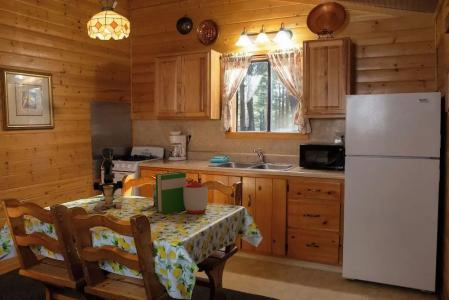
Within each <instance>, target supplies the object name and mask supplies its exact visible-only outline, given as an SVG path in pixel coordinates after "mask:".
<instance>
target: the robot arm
mask: <svg viewBox="0 0 449 300" xmlns="http://www.w3.org/2000/svg"><path fill="white" fill-rule="evenodd" d="M114 152H115V151H114V148H111V147H104V148H102V149H101V156H102V158H103V160H102V162H101V168H102V169H103V183H102V182H100V181H94V182H93V183H92V184H93V190H94V191H100V192H101V194H102V196H103V197H105V195H104V188H103V186H105V185H113V188H112V189H113V201H114V200H115V197H114V196H115V193H116V192H117V190H121V189H123V188H124V184H123V183H124V182H123V180H116V182H115V181H114V179H115V177H116V175H115V173H114V172H113V169H114V168H115V164H114V162H113V157H114V156H113V155H114V154H115V153H114Z"/></svg>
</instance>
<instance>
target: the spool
mask: <svg viewBox="0 0 449 300" xmlns="http://www.w3.org/2000/svg"><path fill="white" fill-rule="evenodd" d="M103 188H104V195H105V196H104V202H105V204H104V206H106V207H105V208H109V207H108V206H114V203H113V202H114V200H113V198H114V196H113V189H112V188H113V185H105V186H103Z"/></svg>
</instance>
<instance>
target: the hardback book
mask: <svg viewBox="0 0 449 300" xmlns="http://www.w3.org/2000/svg"><path fill="white" fill-rule="evenodd" d="M155 183H156V205H155V206H156V213H161V215H165V214H167V215H168V214H171V213H177V212H183V211H186V209H185V206H184V196H183V185H185V184H187V173H186V172H185V171H184V172H183V171H174V172H173V171H172V172H162V173H156V174H155Z"/></svg>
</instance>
